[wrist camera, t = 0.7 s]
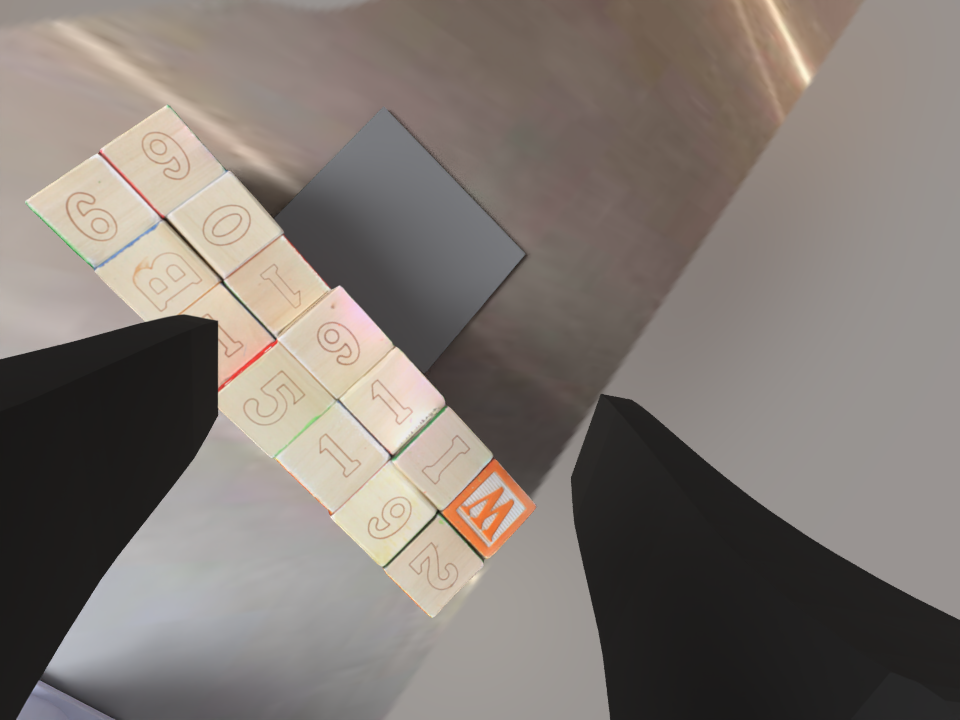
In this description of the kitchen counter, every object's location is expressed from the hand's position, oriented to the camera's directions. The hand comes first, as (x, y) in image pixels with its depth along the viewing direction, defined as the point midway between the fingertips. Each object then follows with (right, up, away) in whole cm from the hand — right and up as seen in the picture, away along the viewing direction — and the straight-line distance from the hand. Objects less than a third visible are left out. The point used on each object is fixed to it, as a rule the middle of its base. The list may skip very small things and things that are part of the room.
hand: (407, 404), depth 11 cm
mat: (-3, +8, +23) cm, 24 cm away
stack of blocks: (-9, +1, +21) cm, 23 cm away
